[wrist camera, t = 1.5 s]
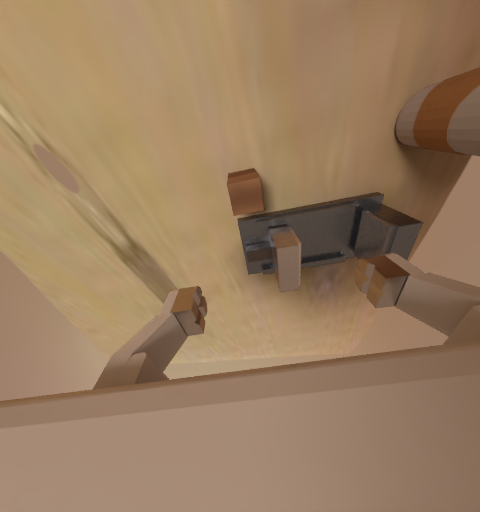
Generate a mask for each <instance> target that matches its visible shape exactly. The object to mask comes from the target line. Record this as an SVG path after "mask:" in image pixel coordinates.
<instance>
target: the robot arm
mask: <svg viewBox="0 0 480 512" xmlns="http://www.w3.org/2000/svg"><path fill="white" fill-rule="evenodd" d="M357 267H358V268H359V270H358V271H357V272H356V273H355V282H356V285H357V287H358V288H359V289H360V290H361V291H362V292H364V293H367V299H368V300H369V301H370V302H371V303H372V304H373V306H374V307H375V308H382V307H390V306H395V307H397V308H398V309H400V310H402V311H404V312H406V313H407V314H409V315H411V316H413V317H415V318H416V319H419V320H420V321H422V322H424V323H425V324H427V325H429V326H431V327H433V328H435V329H436V330H438V331H440V332H442V333H444V334H445V335H447V336H449V337H448V339H447V340H446V341H445V342H444V344H443V345H438V346H430V347H422V348H414V349H406V350H398V351H391V352H383V353H375V354H367V355H359V356H351V357H343V358H336V359H329V360H320V361H312V362H304V363H297V364H289V365H281V366H274V367H266V368H258V369H250V370H242V371H235V372H227V373H219V374H211V375H204V376H195V377H188V378H180V379H172V380H169V378H167V376H166V375H165V374H164V373H163V371H164V370H165V369H166V367H167V366H168V364H169V363H170V361H171V360H172V359H173V357H174V356H175V354H176V353H177V351H178V350H179V349H180V347H181V346H182V344H183V343H184V342H185V340H186V339H187V336H192V335H197V334H203V333H204V328H205V320H204V317H205V316H206V315H207V303H206V299H205V297H203V296H202V295H201V294H202V290H201V288H200V287H199V286H196V287H189V288H182V289H176V290H171V291H170V292H169V294H168V296H167V299H166V301H165V303H164V306H163V308H162V310H161V313H160V315H157V316H156V317H154V318H153V319H152V320H151V321H150V322H149V323H148V324H147V325H146V326H144V327H143V328H142V329H141V330H140V331H139V332H138V333H137V334H136V335H134V336H133V337H132V338H131V339H130V340H129V341H128V342H127V343H126V344H124V345H123V346H122V347H121V348H120V349H119V350H118V351H117V352H116V353H114V354H113V355H112V356H111V358H110V360H109V362H108V363H107V365H106V367H105V369H104V370H103V372H102V374H101V376H100V377H99V379H98V381H97V383H96V385H95V386H94V388H93V390H85V391H77V392H69V393H61V394H53V395H46V396H38V397H30V398H22V399H13V400H5V401H0V512H480V287H476V286H473V285H470V284H466V283H463V282H459V281H456V280H452V279H449V278H446V277H442V276H439V275H435V274H432V273H424V272H422V271H421V270H419V269H418V268H417V267H415V266H414V265H412V264H411V263H409V262H408V261H407V260H405V259H404V258H402V257H401V256H399V255H398V254H395V253H390V254H385V255H381V256H375V257H369V258H363V259H360V260H359V261H358V263H357Z"/></svg>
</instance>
